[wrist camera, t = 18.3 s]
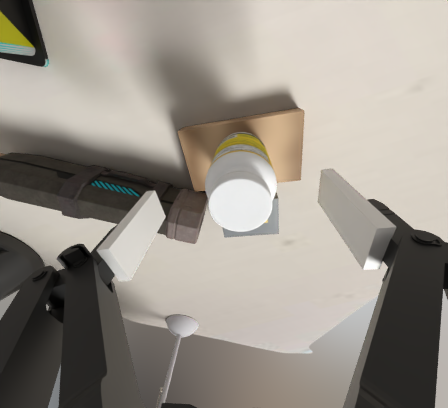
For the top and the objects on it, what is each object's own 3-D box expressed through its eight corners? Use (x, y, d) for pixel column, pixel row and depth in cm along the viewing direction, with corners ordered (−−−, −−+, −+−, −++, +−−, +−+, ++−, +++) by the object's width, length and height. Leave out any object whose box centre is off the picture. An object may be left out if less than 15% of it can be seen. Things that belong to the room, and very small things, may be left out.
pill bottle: (252, 187, 25) (257, 249, 16) (208, 169, 24) (187, 223, 15) (277, 144, 22) (302, 190, 12) (227, 121, 21) (214, 152, 11)
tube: (29, 122, 28) (217, 181, 27) (51, 160, 33) (212, 211, 32) (-65, 161, 21) (188, 245, 19) (-18, 201, 26) (187, 271, 24)
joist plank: (198, 183, 28) (194, 191, 26) (183, 127, 24) (177, 131, 22) (296, 172, 26) (300, 180, 24) (298, 107, 22) (304, 110, 20)
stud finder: (226, 221, 32) (224, 239, 28) (220, 190, 29) (216, 206, 25) (275, 216, 31) (279, 235, 27) (273, 184, 27) (278, 200, 24)
